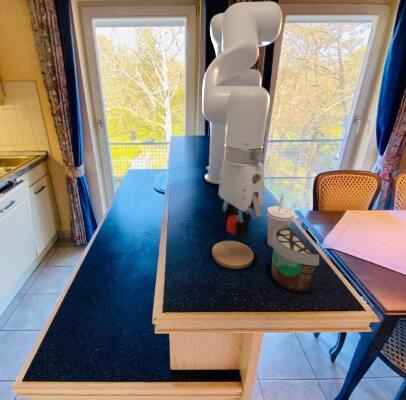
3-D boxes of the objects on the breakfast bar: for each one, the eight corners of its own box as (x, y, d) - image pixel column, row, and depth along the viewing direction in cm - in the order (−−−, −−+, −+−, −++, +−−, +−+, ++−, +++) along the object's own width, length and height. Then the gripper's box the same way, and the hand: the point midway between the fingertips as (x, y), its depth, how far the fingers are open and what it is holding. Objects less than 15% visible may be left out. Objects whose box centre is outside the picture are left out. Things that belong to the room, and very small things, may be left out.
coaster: (204, 250, 67) (204, 246, 67) (236, 240, 71) (236, 236, 71) (227, 274, 59) (228, 270, 59) (262, 261, 63) (262, 257, 62)
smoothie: (257, 240, 71) (264, 192, 65) (276, 235, 73) (284, 188, 67) (273, 253, 66) (282, 203, 60) (293, 247, 68) (304, 198, 62)
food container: (257, 259, 63) (263, 223, 59) (282, 258, 64) (289, 222, 60) (279, 299, 52) (288, 258, 48) (309, 297, 53) (321, 256, 48)
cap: (247, 232, 61) (248, 220, 60) (233, 236, 59) (235, 224, 58) (235, 224, 64) (237, 213, 63) (222, 228, 62) (224, 216, 61)
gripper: (288, 162, 49) (273, 245, 56) (232, 143, 62) (226, 212, 70) (256, 168, 46) (245, 254, 53) (205, 147, 59) (202, 218, 67)
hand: (235, 229), depth 62 cm, fingers closed on cap, 3 cm apart
